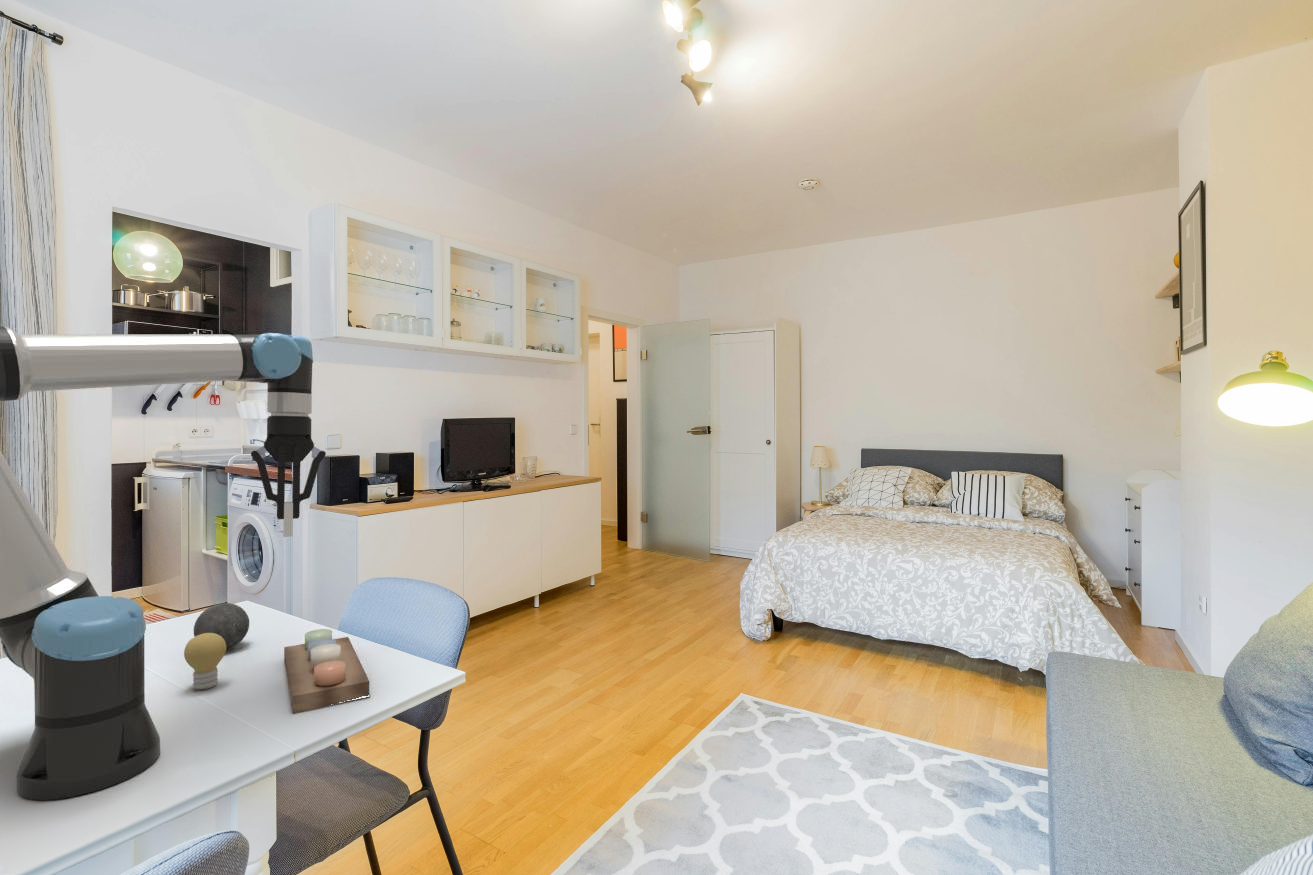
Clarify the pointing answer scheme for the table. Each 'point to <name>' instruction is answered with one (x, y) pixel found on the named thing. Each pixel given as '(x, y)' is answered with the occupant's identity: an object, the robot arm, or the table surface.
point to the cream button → (325, 653)
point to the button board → (316, 696)
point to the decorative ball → (223, 623)
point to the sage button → (317, 635)
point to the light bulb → (205, 658)
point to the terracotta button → (329, 673)
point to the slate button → (319, 642)
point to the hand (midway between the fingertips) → (287, 535)
